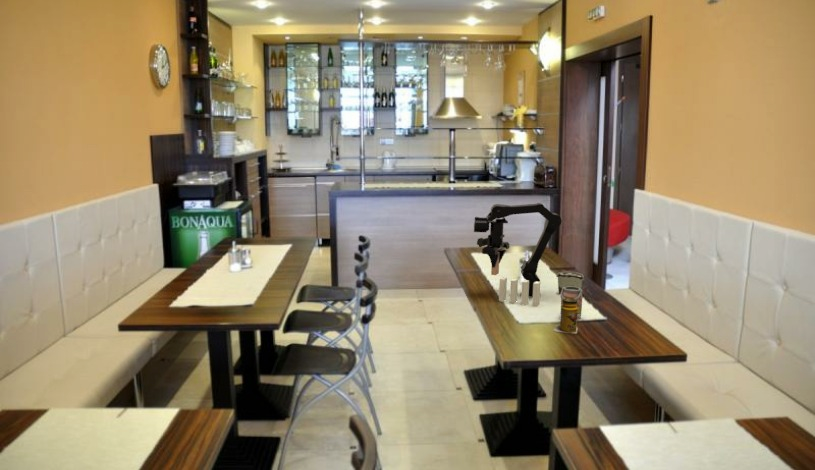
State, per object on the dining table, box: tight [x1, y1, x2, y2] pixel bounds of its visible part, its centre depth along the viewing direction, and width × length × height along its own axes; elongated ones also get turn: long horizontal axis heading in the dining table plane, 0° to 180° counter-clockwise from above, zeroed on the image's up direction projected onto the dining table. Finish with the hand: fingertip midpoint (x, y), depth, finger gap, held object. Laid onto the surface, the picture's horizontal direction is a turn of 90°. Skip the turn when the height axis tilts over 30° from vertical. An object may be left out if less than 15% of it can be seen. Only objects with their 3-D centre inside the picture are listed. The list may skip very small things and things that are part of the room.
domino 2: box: [498, 276, 508, 303], centre depth 272 cm, size 2×4×10 cm, turn 152°
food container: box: [556, 271, 585, 296], centre depth 283 cm, size 12×6×10 cm, turn 65°
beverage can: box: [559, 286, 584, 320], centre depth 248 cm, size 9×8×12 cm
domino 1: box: [490, 252, 500, 276], centre depth 279 cm, size 2×4×10 cm, turn 150°
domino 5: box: [532, 281, 542, 308], centre depth 265 cm, size 2×4×10 cm, turn 152°
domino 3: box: [509, 278, 519, 304], centre depth 269 cm, size 2×4×10 cm, turn 152°
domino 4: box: [520, 279, 529, 306], centre depth 267 cm, size 2×4×10 cm, turn 152°
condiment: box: [553, 298, 578, 334], centre depth 233 cm, size 7×8×12 cm
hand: (495, 266), depth 279 cm, fingers closed on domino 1, 4 cm apart
